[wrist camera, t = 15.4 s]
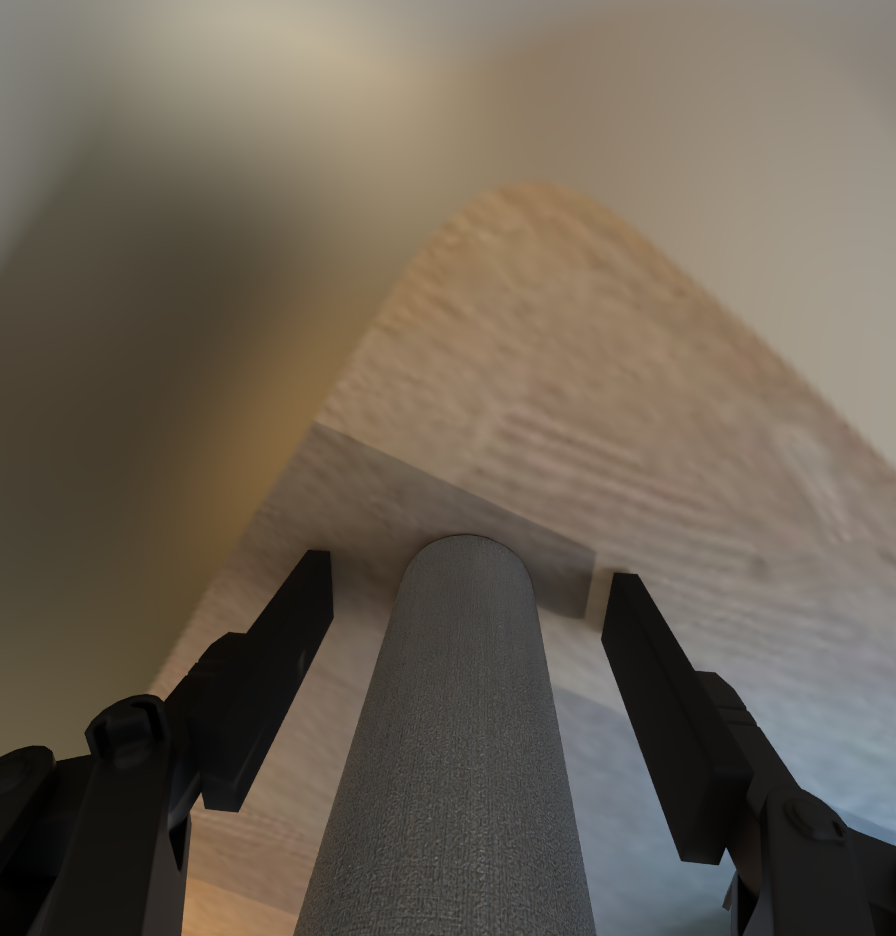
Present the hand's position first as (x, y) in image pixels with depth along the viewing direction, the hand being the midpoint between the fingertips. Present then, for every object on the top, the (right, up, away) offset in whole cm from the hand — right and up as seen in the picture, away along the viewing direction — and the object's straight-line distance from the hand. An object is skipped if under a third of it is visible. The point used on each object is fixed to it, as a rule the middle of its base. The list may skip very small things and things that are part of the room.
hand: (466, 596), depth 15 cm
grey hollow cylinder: (0, 0, 0) cm, 0 cm away
